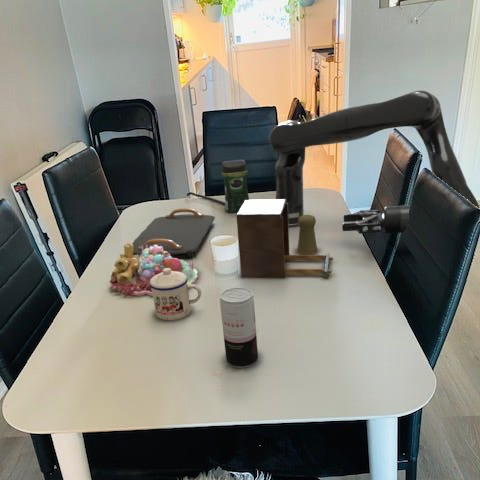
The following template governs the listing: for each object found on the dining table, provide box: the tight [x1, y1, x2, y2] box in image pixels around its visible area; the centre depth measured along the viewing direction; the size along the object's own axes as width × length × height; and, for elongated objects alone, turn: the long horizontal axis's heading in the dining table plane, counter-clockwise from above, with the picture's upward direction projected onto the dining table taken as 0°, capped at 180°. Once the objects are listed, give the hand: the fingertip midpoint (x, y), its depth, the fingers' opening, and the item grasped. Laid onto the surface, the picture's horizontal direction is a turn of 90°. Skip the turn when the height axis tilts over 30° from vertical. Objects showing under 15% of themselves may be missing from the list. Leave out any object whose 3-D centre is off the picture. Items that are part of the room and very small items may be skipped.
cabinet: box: [235, 198, 291, 279], centre depth 137 cm, size 12×13×18 cm
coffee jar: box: [221, 159, 250, 213], centre depth 189 cm, size 10×8×19 cm
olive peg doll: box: [296, 214, 318, 255], centre depth 148 cm, size 6×6×11 cm
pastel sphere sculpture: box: [109, 243, 199, 297], centre depth 139 cm, size 25×24×9 cm
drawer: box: [284, 252, 334, 278], centre depth 139 cm, size 14×13×2 cm
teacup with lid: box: [150, 268, 202, 321], centre depth 120 cm, size 12×9×12 cm
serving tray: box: [131, 207, 216, 259], centre depth 166 cm, size 39×23×6 cm, turn 172°
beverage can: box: [219, 287, 259, 369], centre depth 98 cm, size 7×7×15 cm
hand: (343, 222), depth 144 cm, fingers open, 8 cm apart
